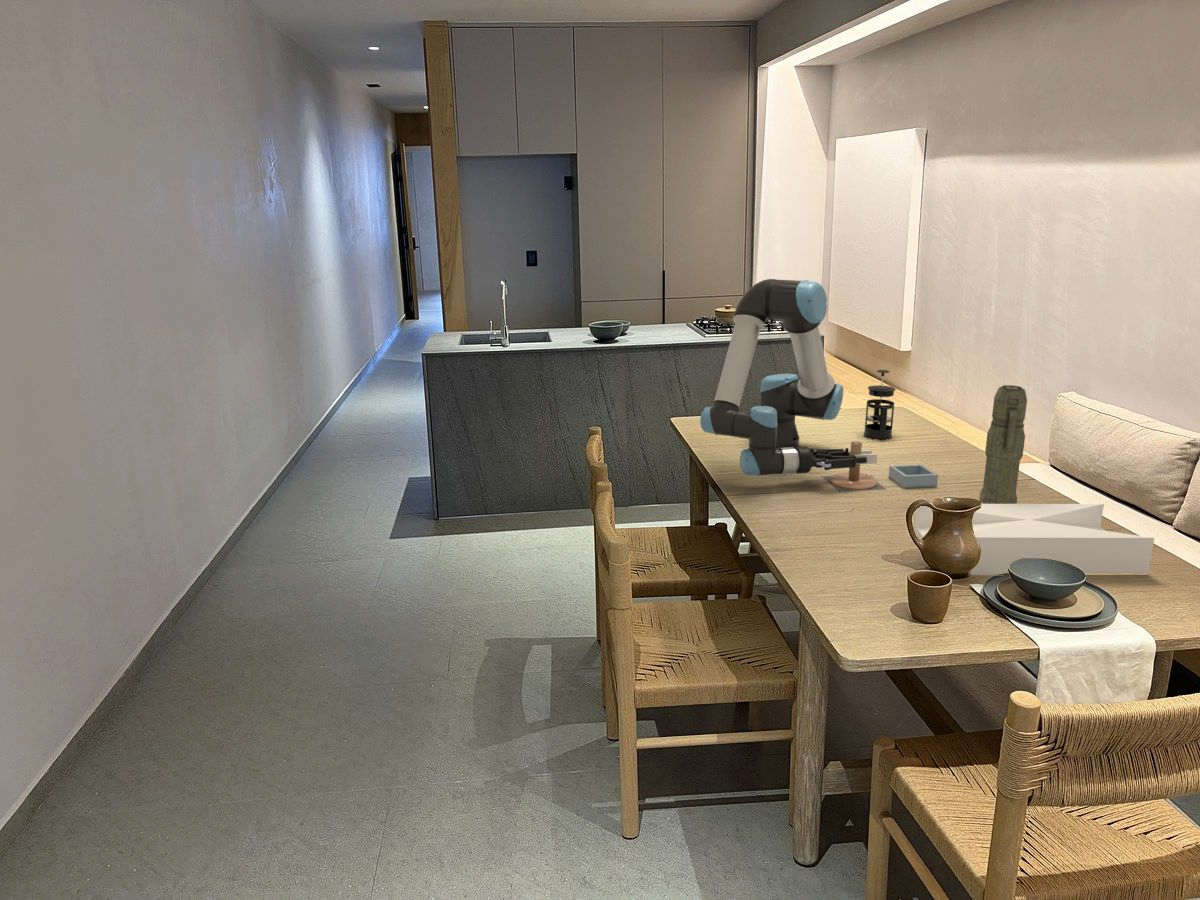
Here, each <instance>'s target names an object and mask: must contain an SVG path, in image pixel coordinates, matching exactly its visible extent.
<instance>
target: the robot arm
mask: <svg viewBox="0 0 1200 900" xmlns="http://www.w3.org/2000/svg"><path fill="white" fill-rule="evenodd" d="M827 302H828V298H827V293H826V289H825V288H824V287H823V285H822V284H821V283H819V282H817V281H809V280H806V279H805V280H792V279H775V278H767V279H763V280H761V281H758V282H757V283H755V284H754V285H752V286H751V287H750V288H749V289H748V290H747V291H746V292H745V293H744V294H743V295H742V296H741V298H740V300H739V302H738V304H737V306H736V307H735V310H734V314H733V317H732V322H734V326H733V330H732V334H731V338H730V342H729V345H728V348H727V353H726V356H725V359H724V364H723V368H722V371H721V375H720V379H719V382H718V386H717V389H716V394H715V396H714V399H713V400H714V401H713V403H712V406H707V407H704V408H703V410H702V411H701V414H700V419H699V420H700V422H699V423H700V427H701V429H702V431H704V432H705V433H709V434H711V435H716V436H718V435H719V436H724V437H725V436H726V437H734V438H739V439H747V440H748V448H746V449H742V450H741V451H740V456H739V465H740V470H741V472H742V473H743V475H744V476H768V475H770V476H771V475H783V476H784V477H785V476H787V474H788V475H789V474H795V473H796V474H807V473H810V472H811V469H812V468H813V467H814V468H816V469H822V468H823V470H824V471H830V470H835V469H836V470H837V469H846V468H847V469H849V468H851V467H853V468H855V467H856V464H860V465H867V464H868V465H870V464H872V465H873V464H875V465H876V464H878V463H877V460H878V454H877V453H873V450H871V449H867V450H862V449H861V454H858V455H854V456H850V451H851V450H850V449H849V448H847V447H845V448H824V449H823V448H820V449H818V448H809V447H808V446H800V436H799V435H800V434H799V431H798V428H797V425H796V417H803V418H810V419H815V420H820V421H821V420H822V421H824V420H825V421H827V420H828V421H831V420H832V421H833V420H834V419H836V418H837V416H838V415H839V413H840V410H841V407H842V403H843V398H844V387H843V385H842V384H839V383H836V382H835V379H834V377H833V375H832V374H830V373H829V372H828V368H827V367H828V366H827V363H826V357H825V353H824V347H823V342H822V337H821V332H820V327H819V326H820V324H821V323H822V321H823V320H824V319H825V317H826V314H827V310H828V309H827V308H828V305H827ZM768 320H774V321H776V320H777V321H781V324H782V328H783V329H784V330H785V332H787V333H789V336H790V341H791V346H792V349H793V353H794V354H793V355H794V358H795V362H796V366H797V371H798V375H797V374H794V373H778V374H771V375H767V376H766V377H764V378H762V380H761V382H760V383H761V384H760V390H759V393H760V396H759V405H756V406H753V407H751V408H750V411H742V410H740V406H741V402H742V399H743V395H744V391H745V388H746V387H745V386H746V383H747V380H748V376H749V373H750V368H751V366H752V361H753V358H754V354H755V350H756V347H757V343H758V339H759V336H760V332H761V330H763V329H765V327H766V323H767V321H768ZM798 376H799V377H798Z"/></svg>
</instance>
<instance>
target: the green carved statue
mask: <svg viewBox="0 0 1200 900" xmlns="http://www.w3.org/2000/svg"><path fill="white" fill-rule="evenodd" d="M1027 402H1028V398H1027V393H1026V389H1025V388H1023V387H1021V386H1018V385H1013V384H1012V385H1009V384H1008V385H1007V384H1005V385H1001V386H999V387H998V389H997V391H996V392H995V395H994V397H993V406H992V411H991V412H992V414H991V417H992V420H991V422H990V427H989V428H988V431H987V434H986V435H987V436H986V441H985V450H984V451H985V456H986V457H985V458H986V459H985V468H984V469H985V470H984V477H983V484H982V488H981V491H980V492H979V499H978V500H980V501H981V502H982V503H983V504H1018V497H1017V487H1018V478H1019V471H1020V465H1021V463H1020V462H1021V459H1022V458H1023V456H1024V448H1025V440H1026V435H1025V434H1026V433H1025V430H1024V429H1025V428H1024V427H1025V424H1024V421H1025V420H1026V412H1027Z"/></svg>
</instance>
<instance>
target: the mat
mask: <svg viewBox="0 0 1200 900" xmlns="http://www.w3.org/2000/svg"><path fill="white" fill-rule="evenodd" d="M865 474H866V475H868V473H865ZM831 476H832V475H825V476H821V478H822V479H824V480H825V481H826V482H827V483H828V484H830V485H831V486H832V487H833V488H834V489H835V490H836V491H837V492H840V493H843V492H861V491H862V492H863V491H881V490H882V491H883V490H884V491H885V490H887V488H886V487H884V486H883V485H882V484H881V483H879V482H878V481H877V486H876V487H874V488H872V489H867V490H851V489H844V488H840V487H837V486H835V485H833V484H832V483H831V482H830V480H831Z"/></svg>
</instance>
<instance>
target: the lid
mask: <svg viewBox="0 0 1200 900" xmlns="http://www.w3.org/2000/svg"><path fill="white" fill-rule="evenodd" d="M862 448H863V443H862V442H861V441H858V440H857V441H855V440H853V441H851V443H850V450H849V451H850V456H854V455H858V454H861V450H862ZM860 471H861V464H856V467H855V468H853V467H851V468H848V472H839V473H834V474H832V475H830V476H831V480H830V482H831V483H832V484H833V485H835V486H837V487H840V488H844V489H851V490H866V491H868V490H867V489H872V488H874V487H876V486H877V482H878V480H877V478H875V477H874V476H872V475H870V474H867V473H861V472H860ZM866 474H867V475H866Z"/></svg>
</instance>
